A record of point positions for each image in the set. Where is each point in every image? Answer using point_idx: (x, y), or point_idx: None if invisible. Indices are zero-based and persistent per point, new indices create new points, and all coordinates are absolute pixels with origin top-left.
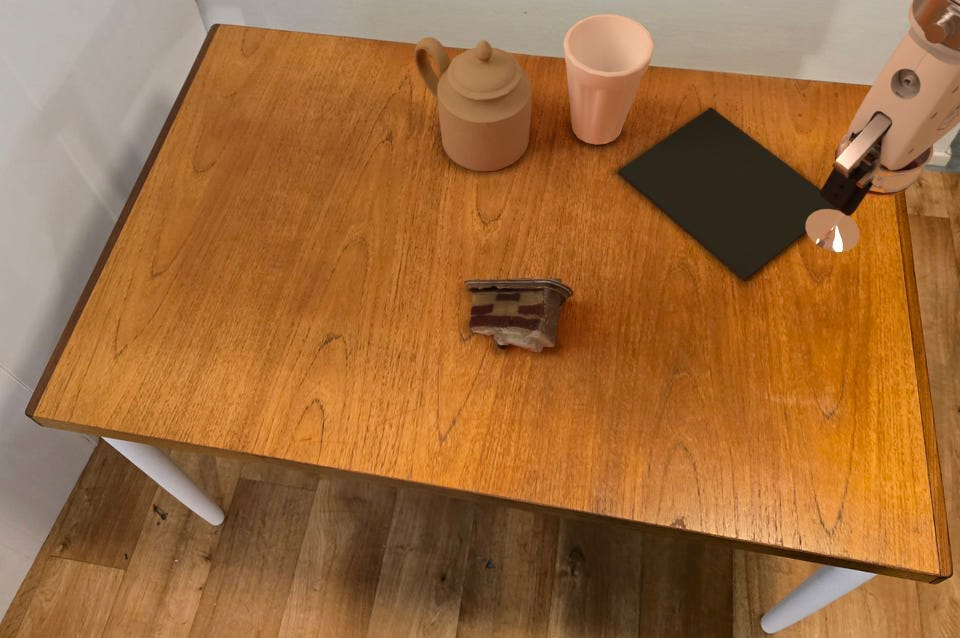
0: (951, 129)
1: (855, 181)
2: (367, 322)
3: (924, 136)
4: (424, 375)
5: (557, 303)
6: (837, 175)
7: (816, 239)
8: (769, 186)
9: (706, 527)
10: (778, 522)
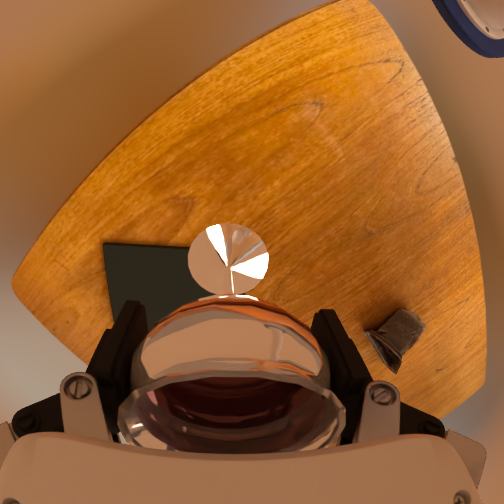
0: (109, 448)
1: (402, 407)
2: (425, 370)
3: None
4: (442, 333)
5: (389, 336)
6: None
7: (262, 267)
8: (142, 301)
9: (449, 141)
10: (420, 98)
